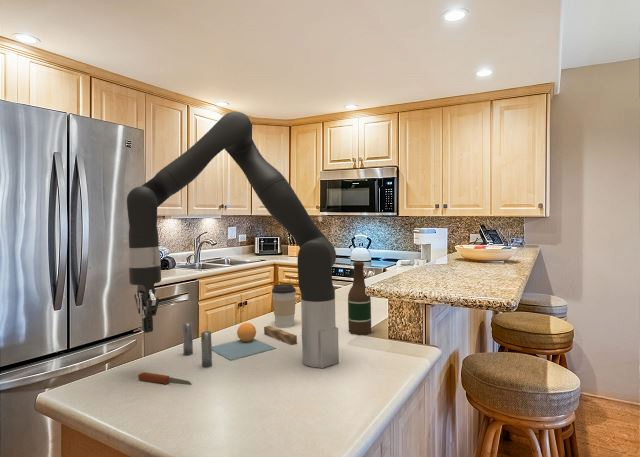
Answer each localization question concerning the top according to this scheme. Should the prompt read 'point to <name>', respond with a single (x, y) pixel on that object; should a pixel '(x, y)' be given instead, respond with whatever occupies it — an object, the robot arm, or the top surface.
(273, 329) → the wall
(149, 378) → the kitchen knife
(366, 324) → the beer bottle
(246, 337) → the ball
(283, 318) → the coffee cup
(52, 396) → the top surface
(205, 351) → the right post
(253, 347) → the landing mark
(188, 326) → the left post
